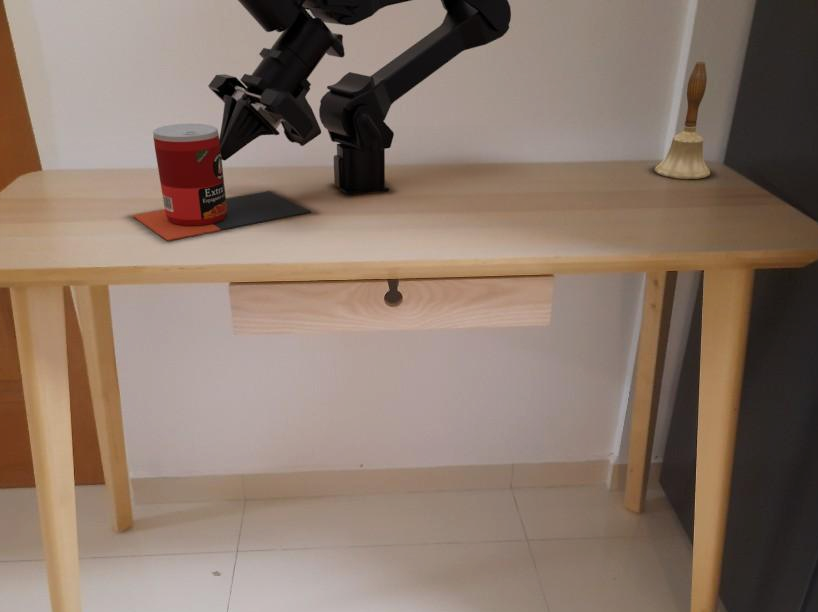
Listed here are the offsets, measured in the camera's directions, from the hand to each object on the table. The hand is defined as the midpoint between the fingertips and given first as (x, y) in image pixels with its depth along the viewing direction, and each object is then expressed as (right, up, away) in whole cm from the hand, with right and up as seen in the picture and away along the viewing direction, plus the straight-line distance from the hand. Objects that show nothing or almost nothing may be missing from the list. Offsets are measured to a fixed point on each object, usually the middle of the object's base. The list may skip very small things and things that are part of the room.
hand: (220, 158), depth 99 cm
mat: (+2, -5, +5) cm, 8 cm away
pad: (-6, -8, 0) cm, 10 cm away
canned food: (-3, -7, +2) cm, 8 cm away
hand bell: (+67, +5, +23) cm, 71 cm away
